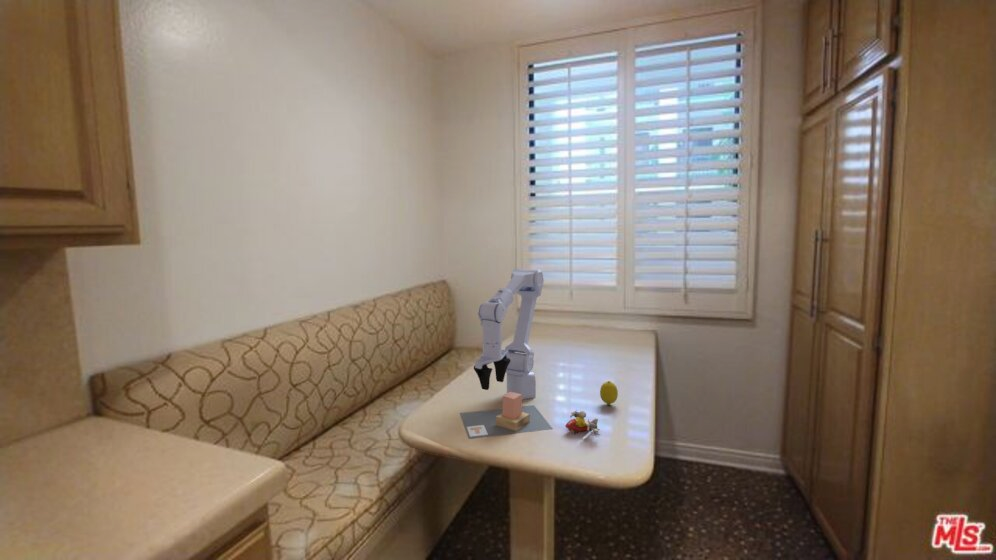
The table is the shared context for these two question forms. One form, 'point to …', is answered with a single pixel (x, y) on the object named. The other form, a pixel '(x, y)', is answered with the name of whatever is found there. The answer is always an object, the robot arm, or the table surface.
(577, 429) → the toy airplane
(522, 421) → the slab
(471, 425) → the board
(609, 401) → the lemon
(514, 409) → the pillar
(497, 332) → the robot arm
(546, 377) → the table surface
